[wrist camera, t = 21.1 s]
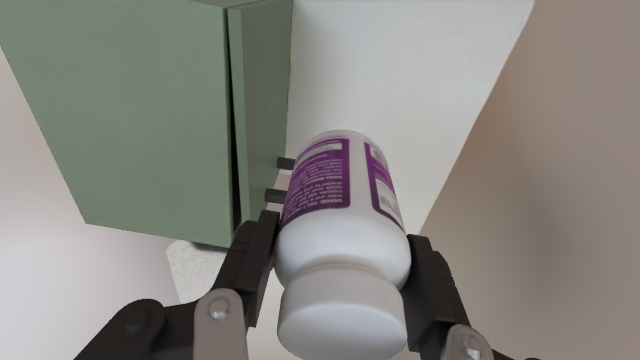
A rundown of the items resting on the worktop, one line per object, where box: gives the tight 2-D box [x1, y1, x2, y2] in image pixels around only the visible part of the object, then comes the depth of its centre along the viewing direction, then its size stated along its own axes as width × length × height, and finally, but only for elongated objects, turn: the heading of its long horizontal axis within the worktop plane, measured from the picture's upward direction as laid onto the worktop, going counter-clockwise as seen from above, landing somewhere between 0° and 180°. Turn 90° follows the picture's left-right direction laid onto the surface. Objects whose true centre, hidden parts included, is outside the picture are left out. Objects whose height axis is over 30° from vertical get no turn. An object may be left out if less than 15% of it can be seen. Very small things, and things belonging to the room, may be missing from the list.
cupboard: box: [0, 0, 264, 248], centre depth 36 cm, size 18×26×24 cm
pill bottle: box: [273, 130, 411, 360], centre depth 12 cm, size 5×5×10 cm
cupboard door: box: [227, 0, 296, 224], centre depth 36 cm, size 7×26×24 cm, turn 173°
